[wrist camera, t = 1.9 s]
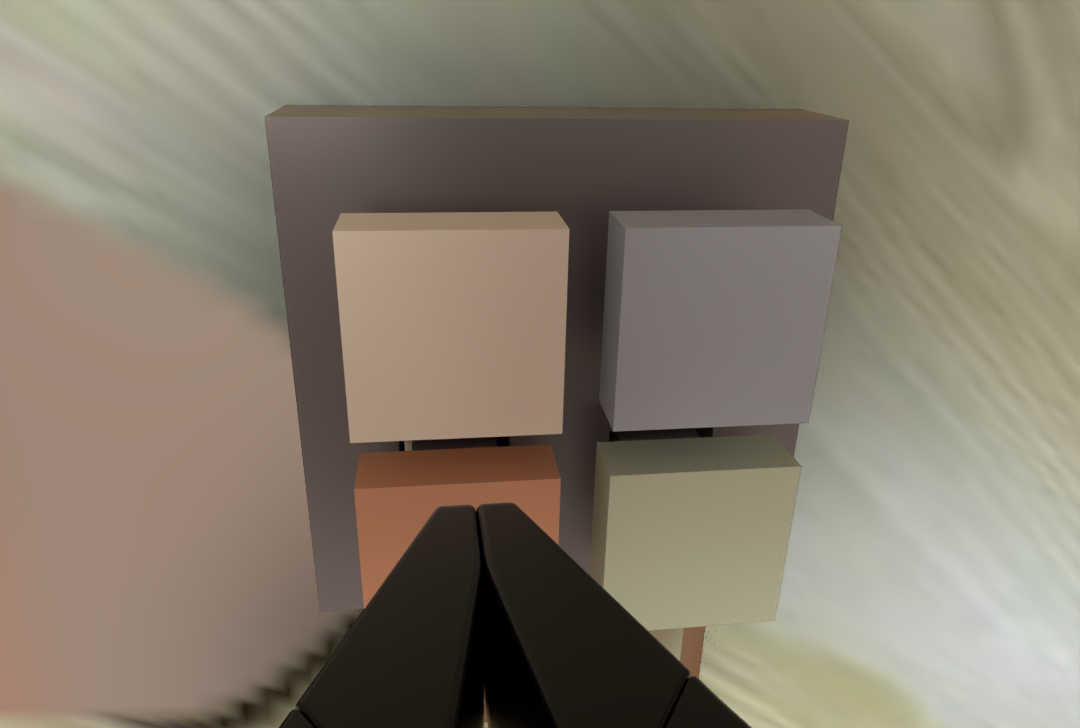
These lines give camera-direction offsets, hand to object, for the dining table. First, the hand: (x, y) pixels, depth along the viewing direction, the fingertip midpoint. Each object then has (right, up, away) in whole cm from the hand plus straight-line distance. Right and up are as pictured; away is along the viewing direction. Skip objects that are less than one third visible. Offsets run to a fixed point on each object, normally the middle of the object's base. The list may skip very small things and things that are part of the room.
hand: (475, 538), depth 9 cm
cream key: (-1, +4, +10) cm, 10 cm away
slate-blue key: (+4, +4, +10) cm, 12 cm away
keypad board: (+1, +2, +12) cm, 12 cm away
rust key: (-1, -1, +12) cm, 12 cm away
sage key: (+4, 0, +12) cm, 13 cm away
